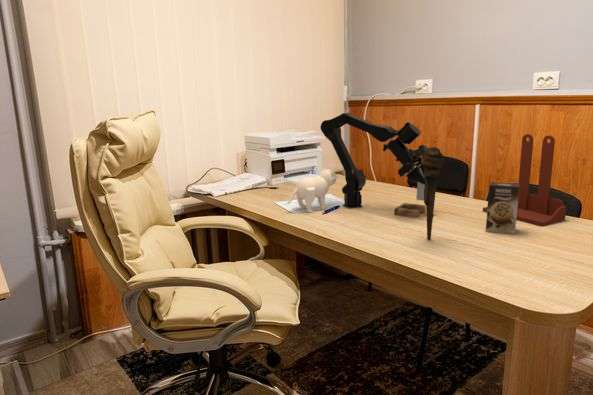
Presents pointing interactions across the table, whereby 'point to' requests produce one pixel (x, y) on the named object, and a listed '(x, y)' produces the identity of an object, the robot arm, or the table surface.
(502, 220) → the coffee box
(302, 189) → the cat figurine
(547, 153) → the hanging shelf
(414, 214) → the slot block
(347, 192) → the robot arm
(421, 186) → the peg
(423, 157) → the decorative torch
